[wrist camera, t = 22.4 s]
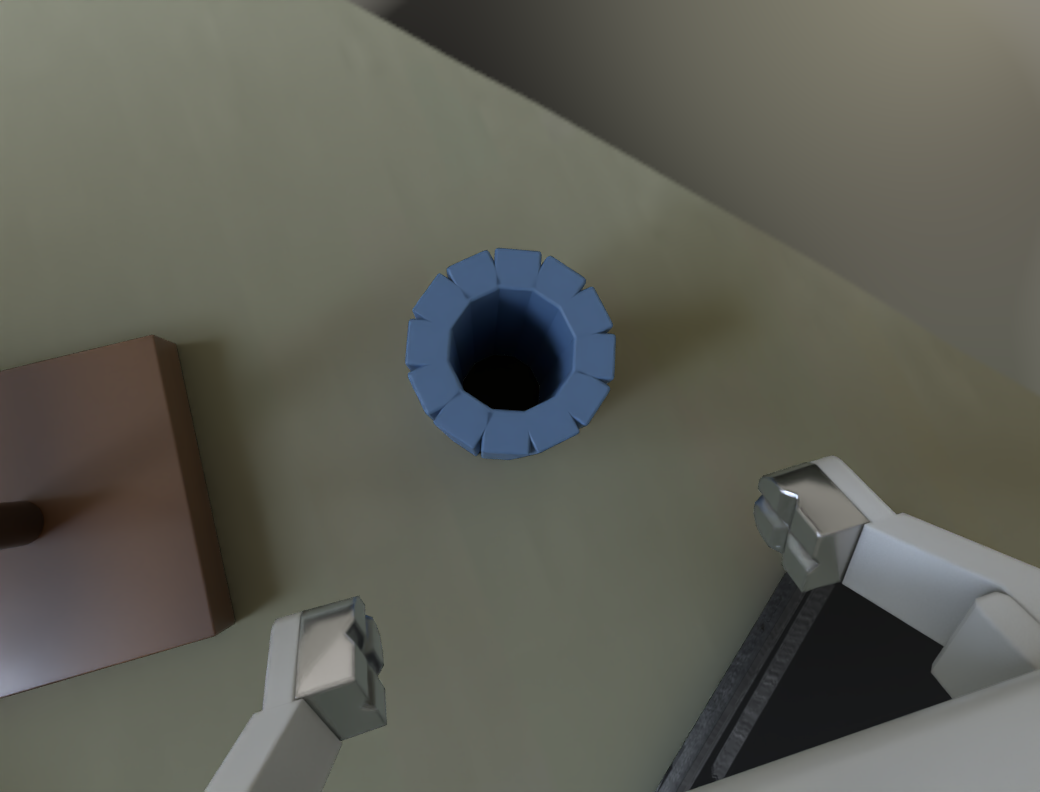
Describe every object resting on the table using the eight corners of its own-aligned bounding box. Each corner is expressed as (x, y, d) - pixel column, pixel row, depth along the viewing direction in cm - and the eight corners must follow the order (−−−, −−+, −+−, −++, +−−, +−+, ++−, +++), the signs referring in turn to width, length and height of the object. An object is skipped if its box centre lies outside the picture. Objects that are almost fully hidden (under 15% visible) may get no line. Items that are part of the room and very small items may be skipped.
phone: (1019, 655, 20) (802, 1078, 18) (990, 644, 21) (782, 1041, 19) (831, 523, 20) (593, 926, 18) (813, 520, 21) (586, 899, 19)
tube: (408, 411, 21) (363, 376, 13) (483, 304, 21) (483, 209, 13) (518, 484, 21) (542, 496, 13) (590, 376, 21) (654, 322, 13)
